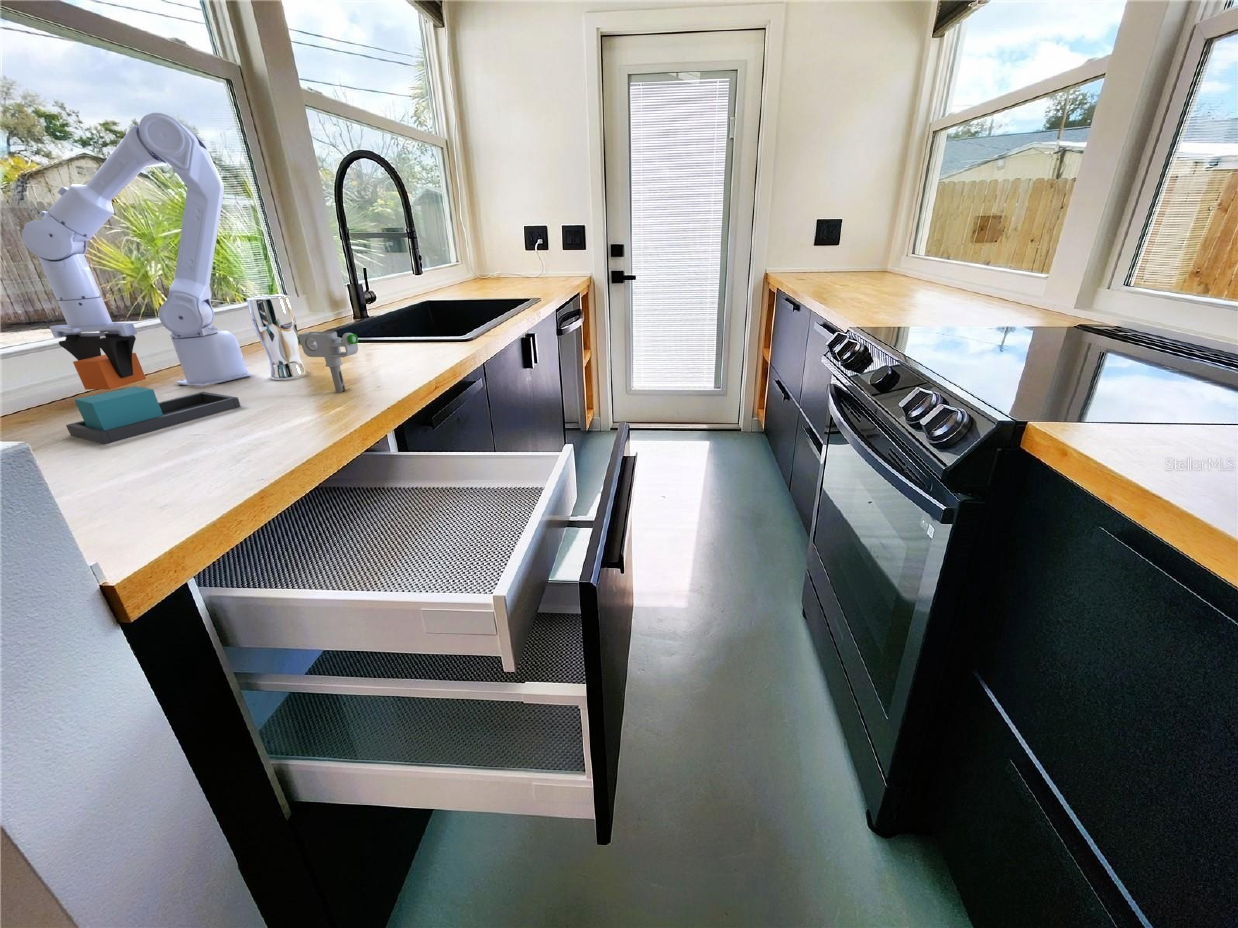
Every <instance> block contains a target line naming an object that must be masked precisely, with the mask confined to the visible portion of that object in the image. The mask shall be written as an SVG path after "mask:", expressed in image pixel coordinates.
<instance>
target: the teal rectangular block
mask: <svg viewBox="0 0 1238 928" xmlns="http://www.w3.org/2000/svg"><path fill="white" fill-rule="evenodd" d="M74 403H75V404H76V407H77V409H78V412H79V414H80V415H81V417H82V421H84V422H85V424H86V426H87V427H89V428H93V429H97V430H101V431H106V430H110V429H113V428H117V427H121V426H125V425H129V424H133V423H136V422H140V421H144V420H148V419H152V418H156V417H159V416H163V413H162V411H161V408H160V406H159V401H158V398H157V395H156V394H155V390H154V389H151V388H146V387H140V386H131V387H130V386H129V387H128V388H122V389H117V390H112V391H108V392H102V393H98V394H93V395H89V396H84V397H79V398H75V399H74Z"/></svg>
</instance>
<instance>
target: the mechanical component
mask: <svg viewBox="0 0 1238 928" xmlns="http://www.w3.org/2000/svg"><path fill="white" fill-rule="evenodd" d="M358 343H359V337H358V335H357V334H355V333H352V332H345V333H344V334H342V337H340V336H338V333H337V331H307V332H303V333H298V344H300V345H301V348H302V351H303V353H304V355H306V356H307V357H309V358H324V361H325V366H326V367H327V368H329V371H330V375H331V378H332V383H333V386H334V390H335V393H336V394H337V393H343V391H347V389H346V386H345V382H344V377H343V373H342V368H341V366H342V365H344V362H342V358H346V357H350V356H353V355H355V354H357V353H358V351H359V346H358ZM341 348H344V349H345V351H342V350H341Z"/></svg>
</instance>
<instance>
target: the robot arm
mask: <svg viewBox="0 0 1238 928" xmlns="http://www.w3.org/2000/svg"><path fill="white" fill-rule="evenodd" d="M168 165H169V166H170V167H171V169H172V170H173V171H174V172H175V173H176V174H177V176H179V178H180V179H181V180H182V182H183V183H184V184H185V185H186V194H185V202H184V208H183V216H182V223H181V229H180V237H179V243H178V252H177V257H176V258H177V259H176V266H175V273H174V278H173V280H172V283H171V285H170V287H169V288H168V295H167V298H166V300H165V301H164V302H163V303H162V304H161V305H160V307H159V308H158V319H159V321H160V323H161V324H162V326H163V327H164V328H165V329H166V330H168V331H169V332H171V333H170V334H169V336H170V338H171V342H172V345H173V347H174V350H175V354H176V356H177V358H178V361H179V364H180V367H181V369H182V371H183V375H184V377H185V379H181V380H178V381H176V384H177V385H182V386H196V387H202V386H207V385H216V384H221V383H225V382H229V381H234V380H237V379H241V378H242V379H243V378H246V377H250V376H251V375H252V374H251V372H248V369H247V365H246V362H245V358H244V356H243V353H242V350H241V346H240V344H239V342H238V339H237V338H236V337H235V335H234V334H233V333H232V332H230V331H228V330H218V328H217V327H215V325H213V324H212V323H214V321H215V311H214V308H213V306H212V290H211V287H210V284H211V277H212V273H213V272H212V271H213V265H214V258H215V252H216V245H217V239H218V233H219V225H220V219H221V213H222V206H223V200H224V193H225V184H224V183H223V180H222V178H221V176H220V173H219V172H218V169H217V167H216V165H215V163H214V160H213V159H212V157H211V153H210V151H209V148H208V147H207V146H206V144H205V143H204V142H203V141H202V140H201V139H200V138H199V136H198V135H197V133H195V132H194V131H193V130H191V128H189V127H187V126H186V125H184V124H181V122H179V121H178V120H177V119H175V118H174V117H172V116H171V115H168V114H165V113H163V112H151V113H147V114H146V115H144V116H143V117H142V118H141V120H139V124H138V125H137V124H134V126H132V127H131V128H129V130H128V131H127V133H126V134H125V135H124V137H123V138H122V139H121V141H120V142H119V143H118V145H117V146H116V147H115V148H114V150H113V151H112V152H111V153H110V155H109V156H108V157H107V158H106V160H105V161H104V162H103V164H102V165H101V166H100V167H99V168H98V170H97V171H96V172H95V173H94V174H93V176H92V177H91V178H90V180H89V181H88V182H87V184H77V183H75V184H71V185H70V186H69V187H67V186H61V187H60V188H59V190H57V194H59V195H60V197H59V198H58V199H57V200H56V201H55V202H54V203H53V204H52V205H51V206H50V208H49V209H48V210H47V211H46V210H42V211H41V212H39V214H38V216H39V217H40V218H41V219H34V220H30V221H27V222H26V223H25V224H24V228H23V229H22V231H21V241H22V242H23V244H24V246H25V247H26V249H27V250H29V251H30V252H31V253H32V254H34V256H37V258H38V260H39V263H40V266H41V268H42V270H43V273H44V275H45V277H46V279H47V282H48V284H49V286H50V289H51V290H52V293H53V295H54V297H55V300H56V302H57V305H58V306H59V309H60V311H61V313H62V315H63V317H64V320H65V323H66V324H57V325H52V326H51V325H50V326H49V329H50V332H51V334H52V336H53V338H54V339H59V338H65V340H59V341H58V344H59V346H60V347H61V348H63V349H65V350H66V351H68V353H69V354H71V355H72V356H73V357H74V358H75V359H76V361H78V360H83V359H87V358H92V357H96V356H101V355H102V352H103V353H104V355H106V356H107V357H108V359H109V360H110V362H111V364H112V366H113V368H114V370H115V371H116V373H117V374H118V376H119V377H120V378H125V377H128V376H132V375H133V365H132V353H134V352H133V351H134V346H135V343H136V340H137V338H136V335H138V333H137V330H136V327H135V325H134V323H132V322H115V321H114V322H113V321H112V318H111V316H110V312H109V310H108V309H107V306H106V304H105V301H104V298H103V296H102V294H101V292H100V288H99V286H98V284H97V281H96V280H95V277H94V273H93V272H92V270H91V268H90V266H89V263H88V260H87V258H86V256H85V254H86V253H87V251H88V243H87V242H88V241H90V240H91V239H92V238H93V237H94V236H95V235H96V234H97V232H98V231H100V229H101V228H102V227H103V226H104V225H105V224H106V223H107V222H108V221H109V220H110V219H111V218H112V216H113V215H114V214H115V211H114V207H113V203H112V201H113V200H114V199H115V198H116V197H117V196H118V194H120V193H121V192H122V191H123V190H124V189H125V188H126V187H127V186H128V185H129V184H130V183H131V182H132V181H133V180H134V179H135V178H136V177H137V176H138V175H140V173H142V171H144V169H146V168H153V167H162V166H163V167H164V166H168ZM101 351H102V352H101Z"/></svg>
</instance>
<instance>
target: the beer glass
mask: <svg viewBox="0 0 1238 928" xmlns="http://www.w3.org/2000/svg"><path fill="white" fill-rule="evenodd" d="M246 302H247V305H248V306H247V307H248V312H249V316H250V320H251V324H252V327H253V329H254V332H255V333H256V334H255V335H256V336H257V338H258V340H259V342H260V345H261V346H262V348H263V350H264V352H265V354H266V357H267V360H268V362H269V369H270V377H271V378H270V379H272V380H273V381H289V380H295V379H300V378H304V377H305V376H307V375H308V372H307V370H306V368H305V365H304V364H303V361H302V358H301V354H300V347H299V341H298V334H299V333H298V327H297V321H296V317H295V314H294V311H293V308H292V305H291V302H290V299H289V295H288V294H267V295H266V294H265V295H257V296H249V297H246Z"/></svg>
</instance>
